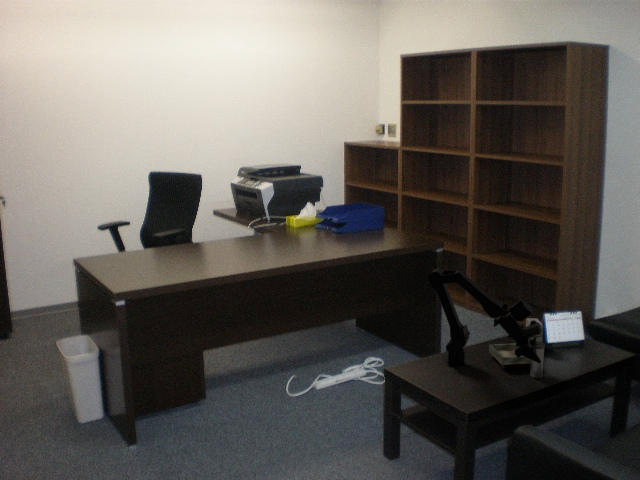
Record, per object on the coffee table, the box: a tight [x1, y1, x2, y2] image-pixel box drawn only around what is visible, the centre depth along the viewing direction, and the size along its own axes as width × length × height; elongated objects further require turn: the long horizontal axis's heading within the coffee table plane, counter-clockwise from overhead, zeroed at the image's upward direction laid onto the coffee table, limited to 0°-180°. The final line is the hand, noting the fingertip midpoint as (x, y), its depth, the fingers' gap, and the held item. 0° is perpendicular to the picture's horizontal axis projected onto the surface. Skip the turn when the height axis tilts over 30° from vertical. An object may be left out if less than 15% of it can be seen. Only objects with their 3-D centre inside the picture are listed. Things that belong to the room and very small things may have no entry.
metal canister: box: [529, 341, 546, 379], centre depth 248 cm, size 5×5×13 cm
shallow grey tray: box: [488, 342, 531, 369], centre depth 262 cm, size 14×14×5 cm
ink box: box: [525, 317, 544, 342], centre depth 277 cm, size 8×5×12 cm, turn 179°
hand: (541, 360), depth 248 cm, fingers closed on metal canister, 4 cm apart
